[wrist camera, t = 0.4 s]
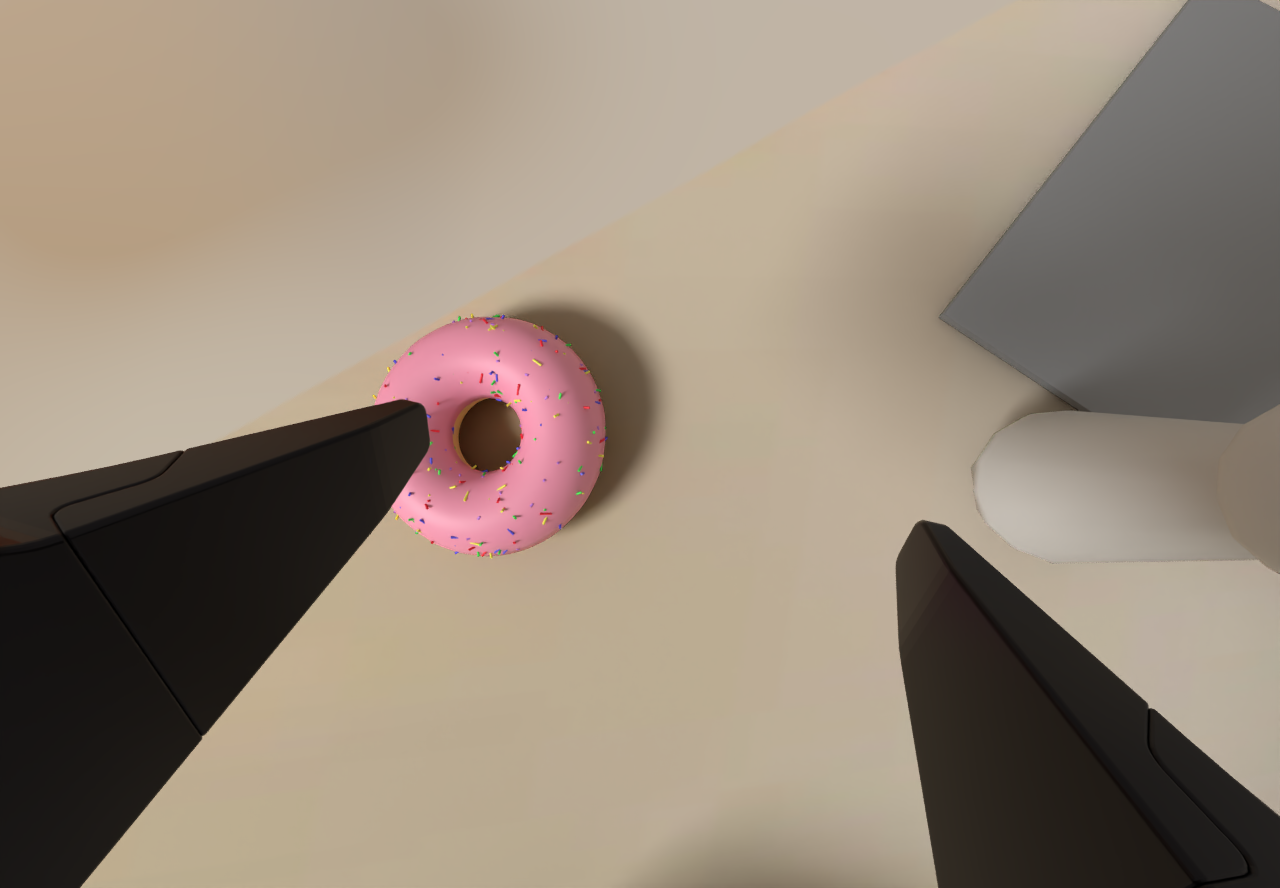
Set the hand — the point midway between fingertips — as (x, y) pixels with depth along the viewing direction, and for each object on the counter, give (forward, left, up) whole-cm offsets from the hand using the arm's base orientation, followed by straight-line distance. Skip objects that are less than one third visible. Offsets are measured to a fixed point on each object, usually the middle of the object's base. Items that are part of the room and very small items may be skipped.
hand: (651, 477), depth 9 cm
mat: (-1, -24, -15) cm, 29 cm away
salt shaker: (-7, -13, -15) cm, 21 cm away
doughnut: (+5, +7, -15) cm, 18 cm away
